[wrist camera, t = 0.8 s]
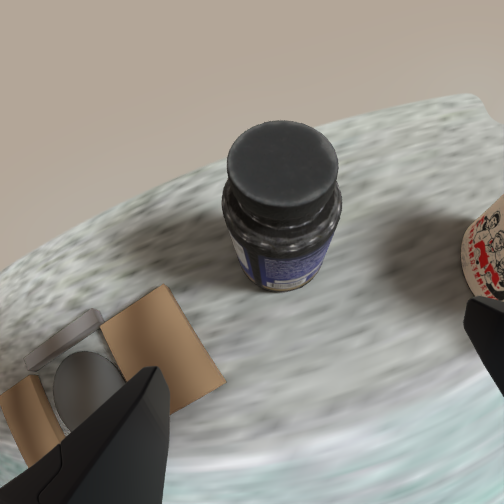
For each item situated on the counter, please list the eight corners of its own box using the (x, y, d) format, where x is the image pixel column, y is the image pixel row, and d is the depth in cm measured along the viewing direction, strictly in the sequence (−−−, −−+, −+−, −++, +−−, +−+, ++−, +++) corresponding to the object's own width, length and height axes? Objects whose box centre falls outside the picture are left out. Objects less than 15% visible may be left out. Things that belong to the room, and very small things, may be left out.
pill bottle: (333, 235, 23) (372, 136, 12) (301, 308, 21) (328, 251, 11) (260, 204, 24) (250, 96, 14) (223, 272, 22) (181, 189, 12)
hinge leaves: (159, 271, 22) (153, 265, 21) (239, 401, 19) (237, 403, 18) (0, 382, 19) (-8, 382, 18) (49, 488, 16) (41, 490, 15)
